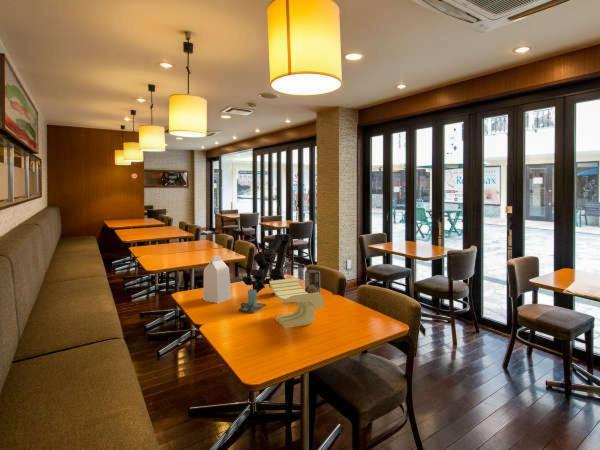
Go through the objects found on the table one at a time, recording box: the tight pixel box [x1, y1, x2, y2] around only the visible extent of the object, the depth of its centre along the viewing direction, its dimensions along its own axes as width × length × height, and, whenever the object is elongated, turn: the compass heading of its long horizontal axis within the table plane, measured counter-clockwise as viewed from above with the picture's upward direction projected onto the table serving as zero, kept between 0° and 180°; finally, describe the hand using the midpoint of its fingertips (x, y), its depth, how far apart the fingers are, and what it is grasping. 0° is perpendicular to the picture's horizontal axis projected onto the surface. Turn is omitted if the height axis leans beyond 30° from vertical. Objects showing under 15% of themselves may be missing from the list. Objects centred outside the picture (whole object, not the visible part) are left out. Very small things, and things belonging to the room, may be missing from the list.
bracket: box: [238, 302, 267, 314], centre depth 203 cm, size 14×9×4 cm, turn 157°
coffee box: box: [304, 269, 321, 293], centre depth 222 cm, size 9×6×16 cm
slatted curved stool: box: [268, 278, 324, 329], centre depth 182 cm, size 30×16×18 cm, turn 24°
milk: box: [202, 255, 232, 304], centre depth 220 cm, size 12×12×26 cm
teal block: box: [243, 288, 258, 311], centre depth 199 cm, size 9×4×9 cm, turn 157°
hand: (253, 294), depth 203 cm, fingers closed, pressing on teal block
